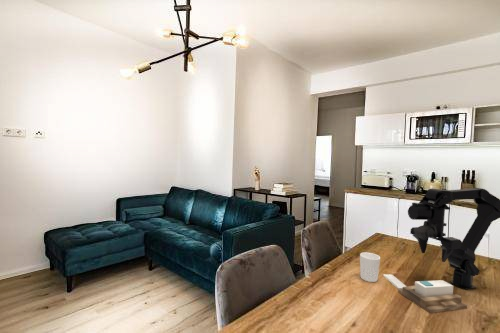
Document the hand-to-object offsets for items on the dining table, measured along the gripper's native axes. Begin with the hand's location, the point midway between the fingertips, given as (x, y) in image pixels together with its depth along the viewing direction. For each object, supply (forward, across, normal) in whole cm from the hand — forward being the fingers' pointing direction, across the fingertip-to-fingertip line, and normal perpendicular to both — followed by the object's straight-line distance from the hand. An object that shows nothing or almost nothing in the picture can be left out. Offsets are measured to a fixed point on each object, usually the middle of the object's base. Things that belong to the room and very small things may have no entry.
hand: (432, 257), depth 109 cm
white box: (+11, +9, -9) cm, 17 cm away
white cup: (+12, -10, -22) cm, 27 cm away
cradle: (+12, +9, -10) cm, 18 cm away
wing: (+13, -5, -13) cm, 19 cm away
